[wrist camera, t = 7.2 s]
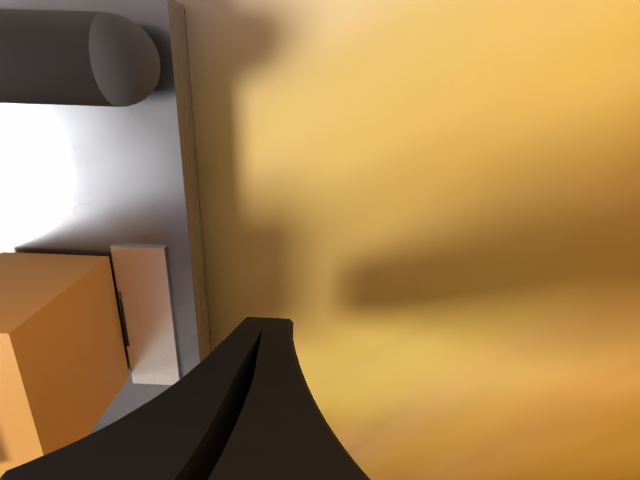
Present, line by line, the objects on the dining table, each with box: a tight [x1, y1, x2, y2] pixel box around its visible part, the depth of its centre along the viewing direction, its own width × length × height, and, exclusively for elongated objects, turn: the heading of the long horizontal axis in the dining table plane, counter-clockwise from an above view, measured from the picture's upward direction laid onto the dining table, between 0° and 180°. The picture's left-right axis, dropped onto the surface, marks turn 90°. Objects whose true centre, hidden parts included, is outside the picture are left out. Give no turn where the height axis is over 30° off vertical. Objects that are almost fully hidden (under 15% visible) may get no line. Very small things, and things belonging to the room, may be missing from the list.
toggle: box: [0, 252, 129, 477], centre depth 11 cm, size 4×3×4 cm
